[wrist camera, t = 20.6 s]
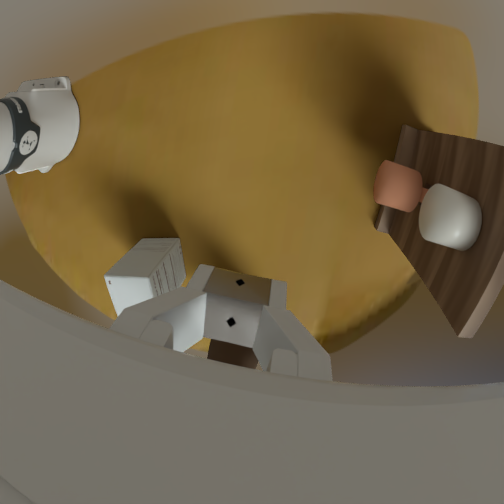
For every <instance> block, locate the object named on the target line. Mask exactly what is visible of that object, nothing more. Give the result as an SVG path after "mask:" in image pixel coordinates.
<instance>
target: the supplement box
mask: <svg viewBox="0 0 504 504" xmlns="http://www.w3.org/2000/svg"><path fill="white" fill-rule="evenodd" d="M104 277H105V281H106V284H107V287H108V290H109V293H110V296H111V299H112V302H113V305H114V307H115V310H116V313H117V315H118V316H119V315H120V313H121V312H122V311H123V310H124V308H127V307H130V306H132V305H135V304H138V303H140V302H143V301H146V300H148V299H151V298H154V297H156V296H159V295H161V294H164V293H167V292H169V291H172V290H175V289H177V288H180V286H181V285H182V283H183V281H184V280H185V278H186V272H185V267H184V261H183V255H182V249H181V243H180V238H142V239H141V240H140V241H139V242H138V243H137V244H136V245H135V246H134V247H133V248H132V249H130V250H129V251H128V252H127V253H126V254H125V255H124V256H123V257H122V258H121V259H120V260H119V261H118V262H117V263H116V264H115V265H114V266H113V267H112V268H111V269H110V270H109V271H108V272H107V273H106V274H105V275H104Z"/></svg>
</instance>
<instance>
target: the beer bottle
mask: <svg viewBox="0 0 504 504" xmlns="http://www.w3.org/2000/svg"><path fill="white" fill-rule="evenodd" d="M207 359H210V360H214V361H218V362H223V363H227V364H232V365H236V366H241V367H246V368H251V369H255V368H256V366H257V363H258V359H257V357H256V355H255V353H254V351H253V348H250V347H245V346H241V345H237V344H233V343H229V342H224V341H220V340H215V339H211V342H210V346H209V351H208V357H207Z"/></svg>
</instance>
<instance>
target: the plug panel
mask: <svg viewBox="0 0 504 504" xmlns="http://www.w3.org/2000/svg"><path fill="white" fill-rule="evenodd" d="M394 163H397V164H400V165H403V166H405V167H408V168H411V169H414V170H416V171H418V172H420V174H421V176H422V182H423V186H422V187H424V188H426V189H430V188H431V187H432V186H433V185H435V184H442V185H445V186H447V187H449V188H452V189H454V190H456V191H459V192H461V193H463V194H465V195H467V196H470V197H472V198H474V199H475V200H476V201H477V202H478V203H479V206H480V208H481V213H482V224H481V229H480V233H479V235H478V238H477V239H476V241H475V243H474V244H473V245H472V246H471V247H470V248H469V249H467V250H464V251H460V250H456V249H453V248H450V247H447V246H444V245H440V244H437V243H434V242H431V241H427V240H425V239H424V238H423V237H422V235H421V233H420V229H419V213H420V208H421V204H422V203H421V202H418V204H417V206H416V207H415V209H414V210H413V211H411V212H405V211H402V210H399V209H395V208H392V207H389V206H385V205H381V208H380V211H379V214H378V217H377V220H376V223H375V226H374V227H375V229H376V230H377V231H380V232H384V233H388V234H389V235H390V236H391V237H392V239H393V240H394V241H395V243H396V244H397V245H398V247H399V248H400V249H401V251H402V252H403V253H404V255H405V256H406V257H407V259H408V260H409V262H410V263H411V264H412V266H413V267H414V269H415V270H416V271H417V273H418V274H419V276H420V277H421V279H422V280H423V282H424V283H425V285H426V286H427V288H428V289H429V291H430V292H431V294H432V295H433V297H434V298H435V300H436V301H437V303H438V304H439V306H440V308H441V309H442V311H443V313H444V314H445V316H446V318H447V319H448V321H449V322H450V324H451V326H452V328H453V329H454V331H455V333H456V335H457V336H458V337H465V338H472V337H473V336H474V334H475V333H476V331H477V330H478V328H479V326H480V325H481V323H482V321H483V320H484V318H485V317H486V315H487V313H488V311H489V310H490V308H491V306H492V305H493V303H494V301H495V299H496V297H497V296H498V294H499V292H500V290H501V288H502V286H503V284H504V146H500V145H496V144H493V143H488V142H484V141H480V140H475V139H470V138H465V137H460V136H455V135H449V134H443V133H437V132H430V131H423V130H418V129H415V128H413V127H410V126H408V125H402V129H401V134H400V138H399V142H398V147H397V151H396V155H395V159H394Z"/></svg>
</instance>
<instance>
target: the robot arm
mask: <svg viewBox="0 0 504 504" xmlns="http://www.w3.org/2000/svg"><path fill="white" fill-rule="evenodd" d="M59 83H60V84H59ZM78 131H79V109H78V105H77V102H76V100H75V98H74V96H73V94H72V92H71V84H70V79H69V77H67V76H65V77H53V78H44V79H37V80H30V81H24V82H22V83H21V85H20V87H19V89H18V90H17V92H9V93H8V94H7V95H6V96H5V98H2V99H0V175H1V174H6V173H9V172H11V171H13V170H15V171H16V172H17V173H19V174H21V173H25V172H29V171H33V170H37V169H38V170H39V171H40V172H42V173H46V172H48V171H49V170H50V169H51V168H52V166H53V165H54V164H55V163H57V162H60V161H62V160H63V159H64V158H66V157H67V156H68V154H69V153H70V152H71V150H72V148H73V146H74V144H75V142H76V139H77V135H78ZM286 294H287V283H286V282H285V281H279V280H273V279H268V278H262V277H257V276H252V275H246V274H243V273H238V272H234V271H230V270H226V269H222V268H217V267H214V266H209V265H204V264H200V265H199V266H198V268H197V269H196V271H195V273H194V275H193V276H192V278H191V280H190V281H189V283H188V285H187V286H186V288H185V287H180V288H177V289H175V290H172V291H169V292H167V293H164V294H161V295H159V296H156V297H154V298H151V299H148V300H146V301H143V302H140V303H138V304H135V305H132V306H130V307H127V308H124V310H123V311H122V312H121V313H120V315H119V316H118V317H117V319H116V320H115V321H114V323H113V324H112V325H111V327H110V328H109V329H108V328H106V327H103V326H100V325H98V324H95V323H92V322H90V321H87V320H85V319H82V318H80V317H78V316H75V315H73V314H70V313H68V312H66V311H63V310H61V309H59V308H57V307H54V306H52V305H50V304H47V303H45V302H43V301H41V300H39V299H37V298H35V297H32V296H31V295H29V294H27V293H25V292H23V291H21V290H19V289H16V288H15V287H13V286H11V285H9V284H7V283H5V282H4V281H2V280H0V504H504V382H501V383H491V384H481V385H465V386H439V387H437V386H434V387H415V386H414V387H413V386H384V385H367V384H355V383H344V382H334V381H332V371H331V361H330V355H329V354H328V353H327V352H326V351H325V350H324V349H323V347H322V346H321V345H320V344H319V343H318V342H317V341H316V340H315V338H314V337H313V336H312V335H311V334H310V333H309V332H308V330H307V329H306V328H305V327H304V326H303V325H302V324H301V322H300V321H299V320H298V319H297V318H296V317H295V316H294V315H293V313H292V312H291V311H290V310H286ZM203 337H206V338H210V339H215V340H220V341H224V342H229V343H233V344H237V345H241V346H245V347H250V348H253V351H254V353H255V355H256V357H257V359H258V361H259V363H260V365H261V367H262V369H263V371H260V370H256V369H251V368H246V367H241V366H236V365H232V364H227V363H223V362H218V361H214V360H210V359H206V358H202V357H198V356H194V355H190V354H187V353H183V352H184V351H185V350H186V349H188V348H189V347H191V346H192V345H194V344H195V343H197V342H198V341H199V340H201V339H202V338H203Z"/></svg>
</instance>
